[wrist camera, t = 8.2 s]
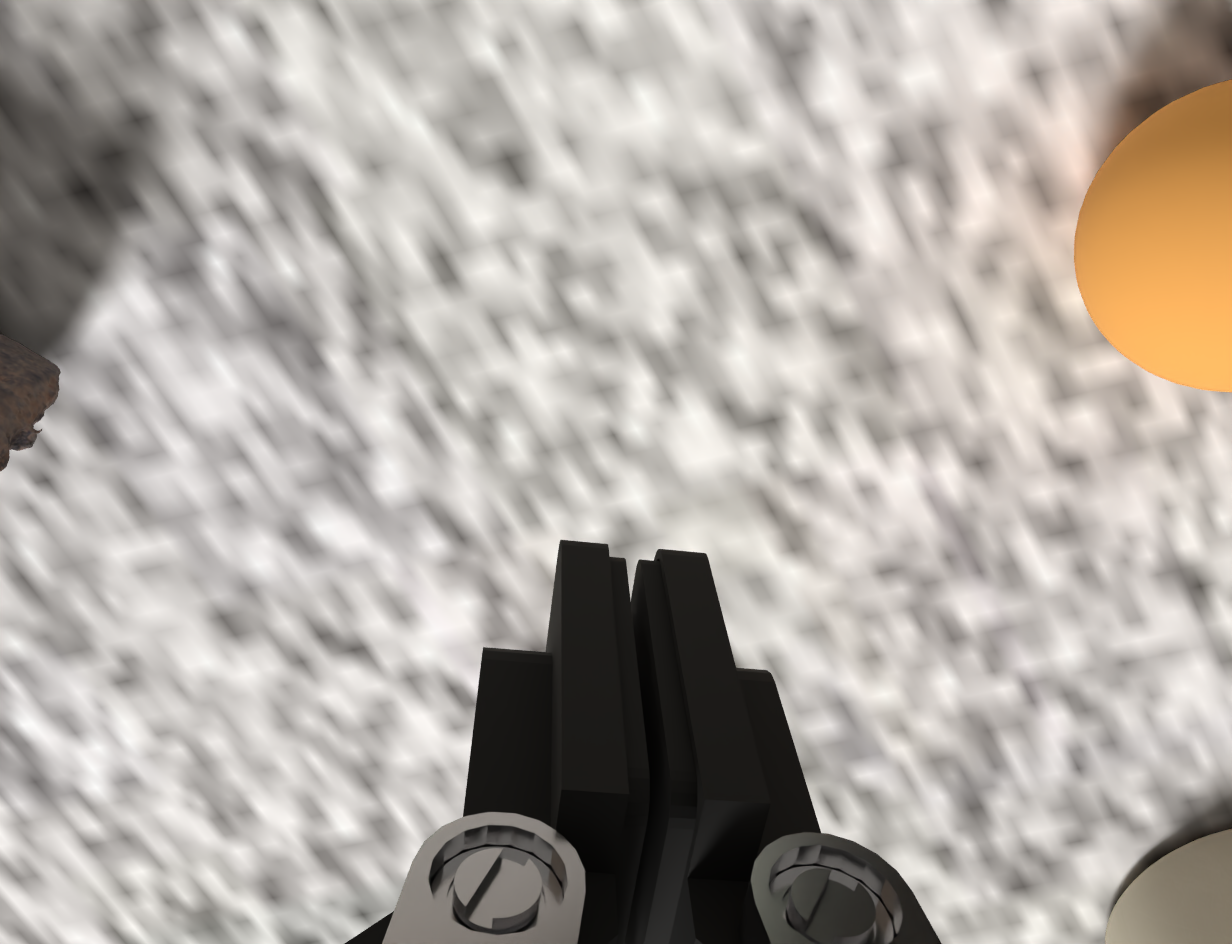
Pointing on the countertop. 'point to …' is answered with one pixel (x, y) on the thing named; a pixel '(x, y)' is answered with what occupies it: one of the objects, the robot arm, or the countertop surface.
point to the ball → (1165, 242)
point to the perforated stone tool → (23, 395)
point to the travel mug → (1179, 898)
